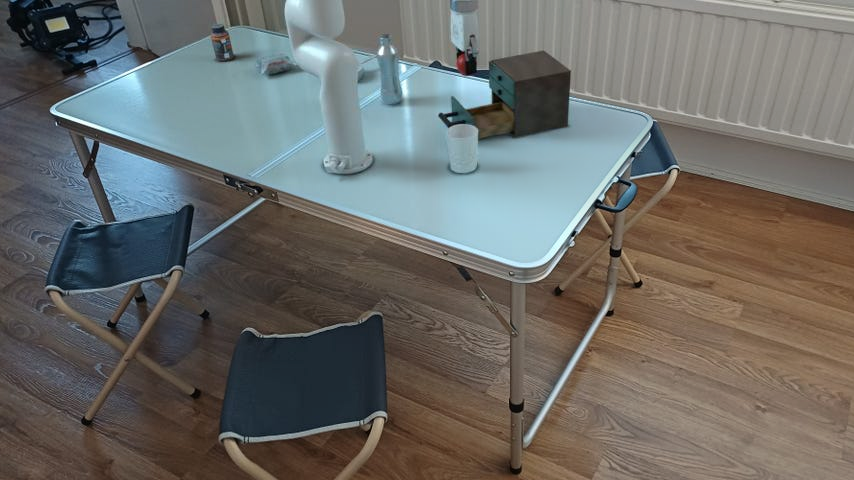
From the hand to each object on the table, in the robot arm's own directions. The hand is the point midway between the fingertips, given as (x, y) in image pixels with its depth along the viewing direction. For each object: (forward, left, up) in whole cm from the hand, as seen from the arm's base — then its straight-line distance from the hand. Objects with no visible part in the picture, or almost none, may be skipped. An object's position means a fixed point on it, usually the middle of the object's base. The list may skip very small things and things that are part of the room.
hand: (466, 68), depth 204 cm
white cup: (-33, -7, -12) cm, 36 cm away
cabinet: (-4, -19, -12) cm, 23 cm away
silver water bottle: (+1, +23, -12) cm, 26 cm away
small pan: (+19, +41, -12) cm, 47 cm away
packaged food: (+17, +68, -12) cm, 71 cm away
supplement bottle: (+25, +91, -12) cm, 96 cm away
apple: (0, 0, -1) cm, 1 cm away
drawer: (-13, -6, -12) cm, 19 cm away
